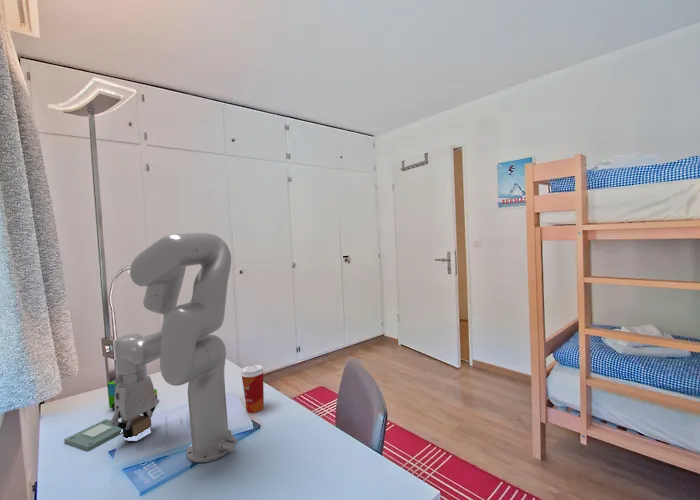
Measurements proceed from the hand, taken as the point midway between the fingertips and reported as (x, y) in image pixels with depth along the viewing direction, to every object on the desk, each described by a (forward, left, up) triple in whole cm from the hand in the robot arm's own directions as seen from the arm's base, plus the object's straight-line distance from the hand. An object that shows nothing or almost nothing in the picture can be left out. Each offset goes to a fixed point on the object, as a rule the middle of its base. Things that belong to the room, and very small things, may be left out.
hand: (138, 434), depth 105 cm
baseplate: (+13, +4, -1) cm, 14 cm away
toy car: (+21, -13, -1) cm, 25 cm away
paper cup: (-24, -25, -1) cm, 35 cm away
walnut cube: (0, 0, -1) cm, 1 cm away
